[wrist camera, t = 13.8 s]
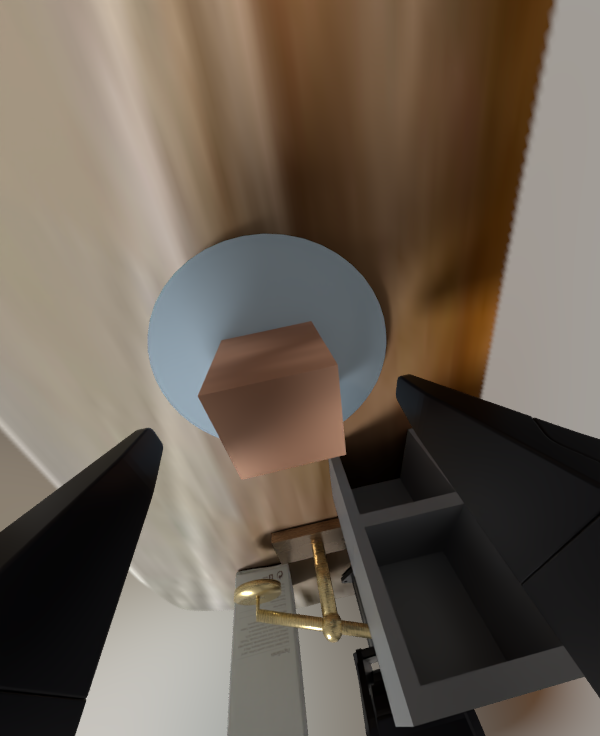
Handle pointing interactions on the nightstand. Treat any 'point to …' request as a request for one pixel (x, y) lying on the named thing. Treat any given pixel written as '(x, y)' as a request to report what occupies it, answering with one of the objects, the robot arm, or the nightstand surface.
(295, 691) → the skincare box
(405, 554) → the empty hood
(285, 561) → the balance
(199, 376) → the dish
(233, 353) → the block
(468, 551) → the covering hood
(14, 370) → the nightstand surface
